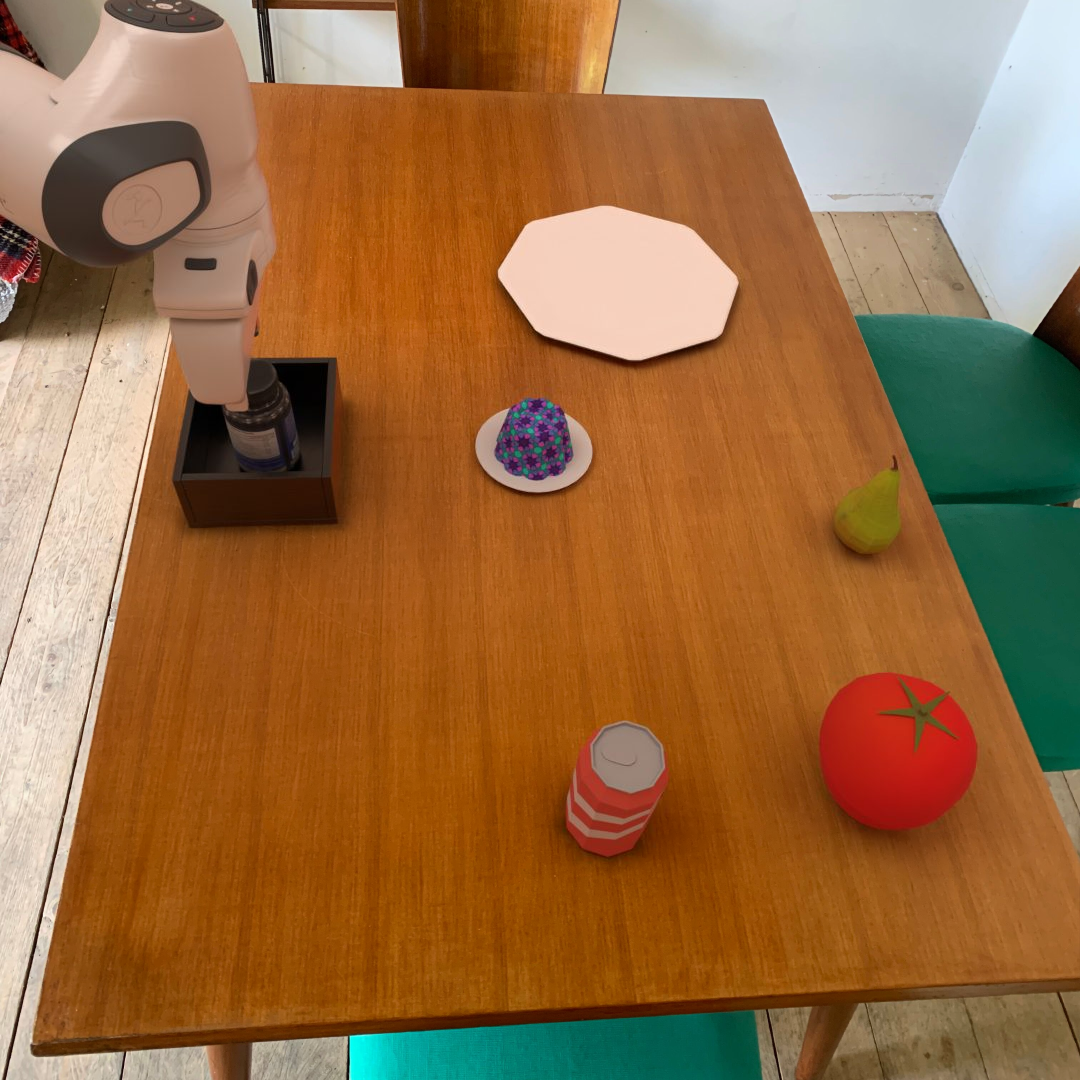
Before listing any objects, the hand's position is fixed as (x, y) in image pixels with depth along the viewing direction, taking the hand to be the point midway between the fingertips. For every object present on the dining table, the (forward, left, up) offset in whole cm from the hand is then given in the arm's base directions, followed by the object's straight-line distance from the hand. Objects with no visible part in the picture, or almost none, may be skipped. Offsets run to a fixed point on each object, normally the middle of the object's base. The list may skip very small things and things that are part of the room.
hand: (244, 367), depth 80 cm
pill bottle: (0, 0, -12) cm, 12 cm away
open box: (0, 0, -13) cm, 13 cm away
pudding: (+25, -8, -13) cm, 30 cm away
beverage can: (+14, -45, -13) cm, 49 cm away
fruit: (+50, -30, -13) cm, 60 cm away
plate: (+46, +13, -13) cm, 50 cm away
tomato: (+35, -51, -13) cm, 63 cm away
